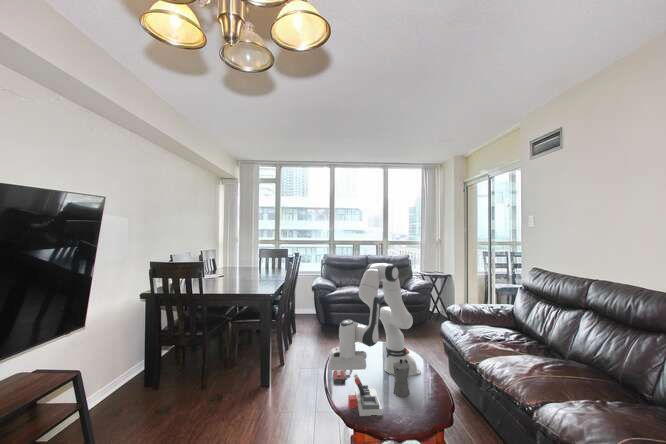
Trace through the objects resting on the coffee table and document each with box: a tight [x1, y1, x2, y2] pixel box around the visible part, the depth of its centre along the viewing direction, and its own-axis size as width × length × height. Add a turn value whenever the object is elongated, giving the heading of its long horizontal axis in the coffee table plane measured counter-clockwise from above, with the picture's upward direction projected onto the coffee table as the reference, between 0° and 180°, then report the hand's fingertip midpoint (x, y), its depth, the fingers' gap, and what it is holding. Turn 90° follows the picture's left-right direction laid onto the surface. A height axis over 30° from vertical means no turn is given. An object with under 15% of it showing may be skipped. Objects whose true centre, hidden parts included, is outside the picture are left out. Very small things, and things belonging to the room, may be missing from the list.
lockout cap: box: [347, 394, 358, 409], centre depth 151 cm, size 4×4×4 cm
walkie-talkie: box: [332, 370, 348, 385], centre depth 183 cm, size 9×4×20 cm
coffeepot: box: [393, 359, 411, 398], centre depth 165 cm, size 15×9×18 cm, turn 146°
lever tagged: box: [354, 378, 366, 395], centre depth 154 cm, size 2×3×10 cm
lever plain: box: [352, 372, 364, 389], centre depth 160 cm, size 2×3×10 cm
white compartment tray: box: [354, 384, 383, 417], centre depth 153 cm, size 11×19×5 cm, turn 3°
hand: (347, 377), depth 160 cm, fingers closed
